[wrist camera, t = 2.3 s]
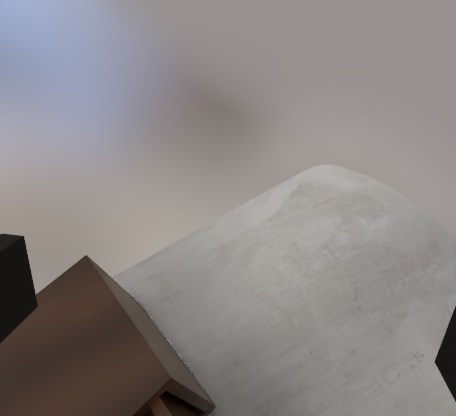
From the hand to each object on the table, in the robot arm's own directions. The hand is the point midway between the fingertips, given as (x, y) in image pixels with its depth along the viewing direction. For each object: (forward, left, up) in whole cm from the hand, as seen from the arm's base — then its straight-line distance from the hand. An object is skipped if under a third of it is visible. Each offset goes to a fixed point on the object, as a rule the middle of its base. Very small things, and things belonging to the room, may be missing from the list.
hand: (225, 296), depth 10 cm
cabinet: (+10, -10, -20) cm, 25 cm away
